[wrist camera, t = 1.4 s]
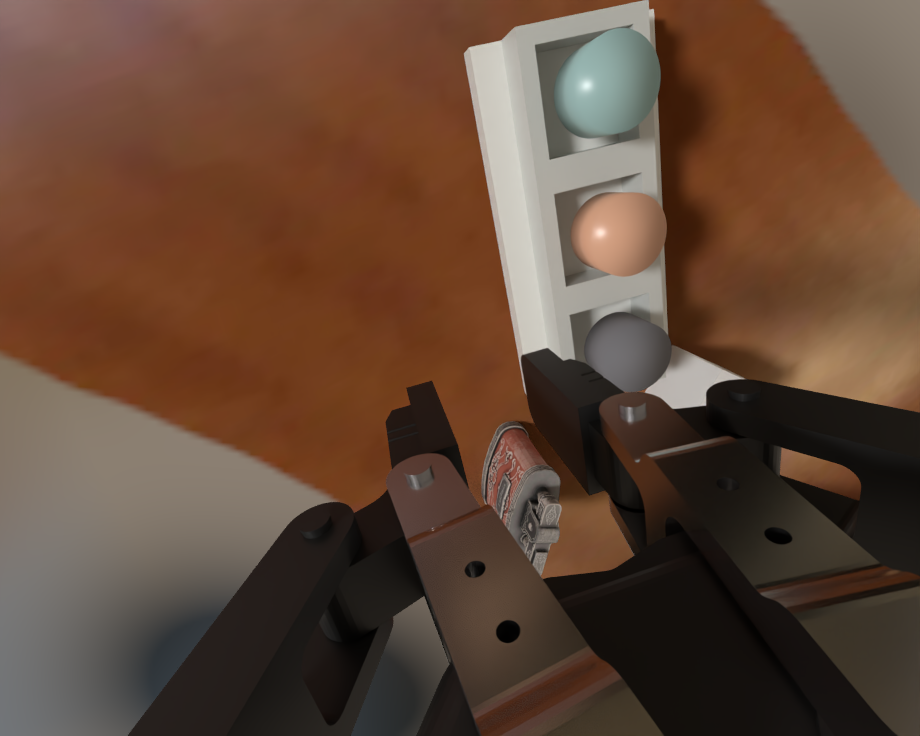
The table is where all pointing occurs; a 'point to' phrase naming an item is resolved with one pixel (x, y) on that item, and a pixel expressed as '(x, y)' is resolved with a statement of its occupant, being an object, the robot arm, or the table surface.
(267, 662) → the robot arm
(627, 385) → the charcoal button
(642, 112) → the teal button
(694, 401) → the white cube
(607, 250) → the terracotta button
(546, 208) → the button board
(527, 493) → the lighter
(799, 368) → the table surface
